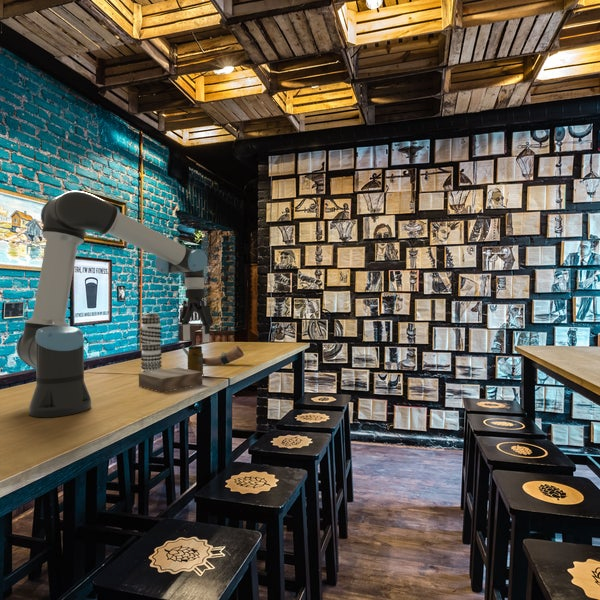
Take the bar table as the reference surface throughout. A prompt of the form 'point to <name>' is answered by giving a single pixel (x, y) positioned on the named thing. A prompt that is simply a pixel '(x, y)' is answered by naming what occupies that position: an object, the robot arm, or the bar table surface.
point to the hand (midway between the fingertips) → (196, 341)
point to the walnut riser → (170, 379)
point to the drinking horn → (222, 359)
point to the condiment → (195, 358)
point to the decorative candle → (151, 342)
